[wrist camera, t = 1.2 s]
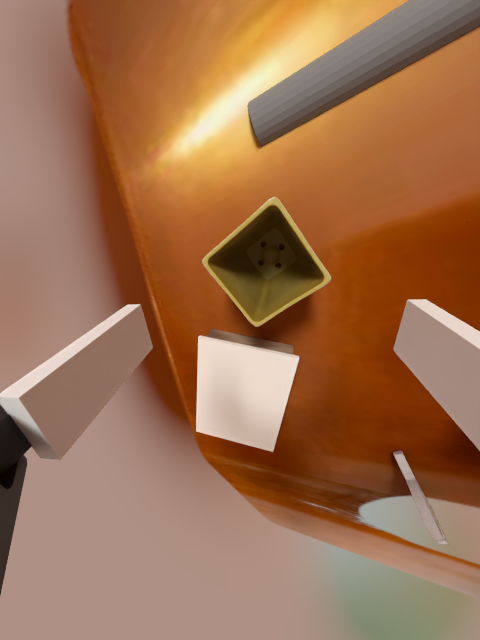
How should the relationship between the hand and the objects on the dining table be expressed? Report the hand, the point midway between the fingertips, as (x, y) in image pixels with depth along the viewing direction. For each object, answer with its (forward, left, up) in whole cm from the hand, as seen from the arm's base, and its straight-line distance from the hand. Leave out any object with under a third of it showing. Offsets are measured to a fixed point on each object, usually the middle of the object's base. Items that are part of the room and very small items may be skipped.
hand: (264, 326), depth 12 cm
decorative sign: (-31, +36, -20) cm, 51 cm away
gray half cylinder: (-3, -17, -20) cm, 27 cm away
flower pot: (+1, 0, -19) cm, 19 cm away
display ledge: (+2, +22, -19) cm, 29 cm away
